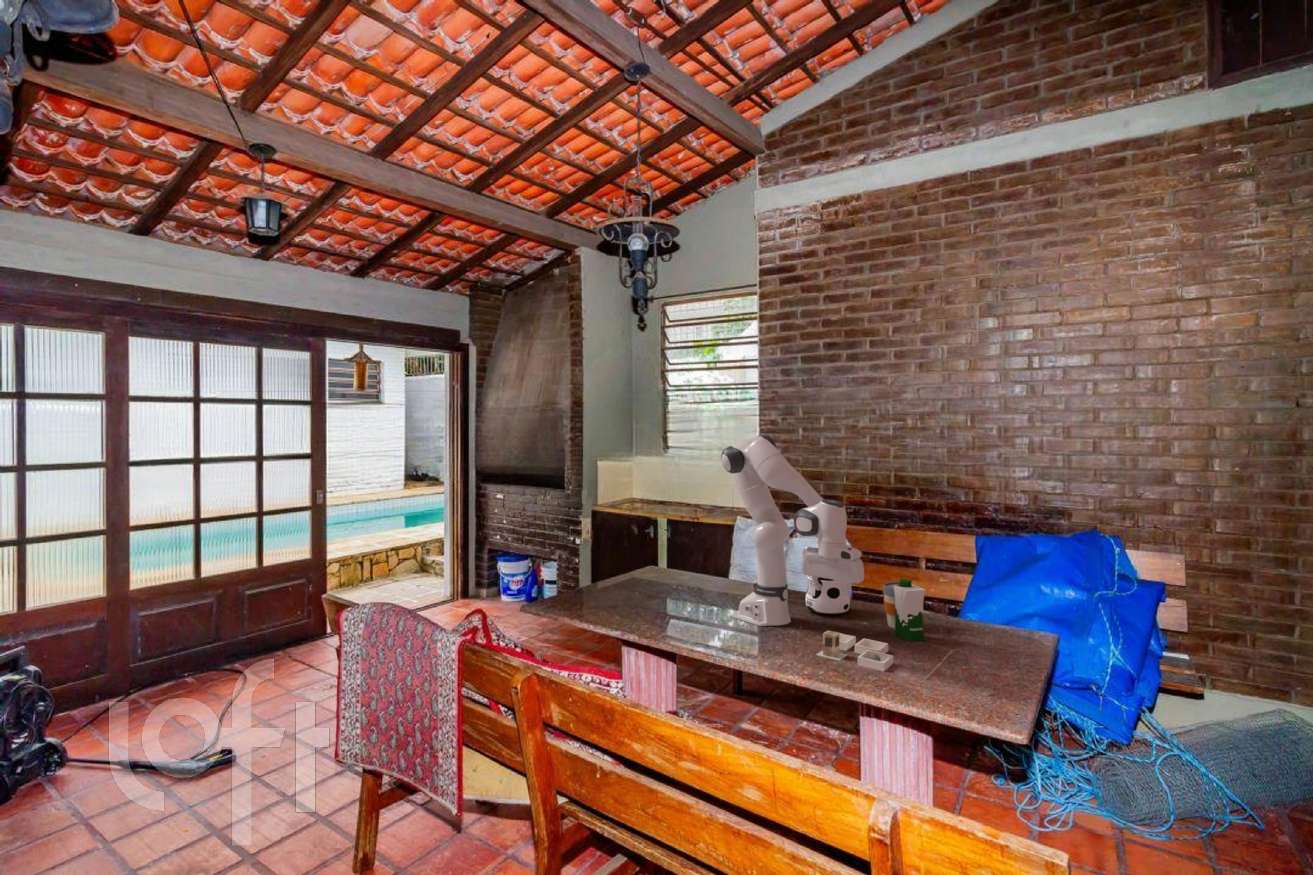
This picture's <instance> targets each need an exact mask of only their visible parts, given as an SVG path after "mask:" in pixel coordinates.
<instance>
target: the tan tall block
mask: <svg viewBox="0 0 1313 875" xmlns="http://www.w3.org/2000/svg"><path fill="white" fill-rule="evenodd" d="M840 633H841V632H838V631H832V630H826V631H824V632H823V633H822V650H823V655H825V656H829V657H833V658H835V657H836V656H838V655H839V654H840V650H841V649H840Z"/></svg>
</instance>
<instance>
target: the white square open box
mask: <svg viewBox="0 0 1313 875" xmlns="http://www.w3.org/2000/svg"><path fill="white" fill-rule="evenodd" d="M874 654H876V655H878V656H879V657H880V659H881V661H875V660H871V659H870V658H871V656H872V655H874ZM893 664H894V655H892V654H888V653H885V654H884V653H880V652H875V651H871V650H866V651H865V652H864V653H862V654H859V655H858V656H857V666H860V667H864V668H866V669H872V670H876V671H880V672H885V671H887V670H888V669H889V668H890V667H891V666H893Z"/></svg>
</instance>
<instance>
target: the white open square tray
mask: <svg viewBox="0 0 1313 875" xmlns="http://www.w3.org/2000/svg"><path fill="white" fill-rule="evenodd" d="M839 633H840V650H841V651H849V650H850V649H851V648H852V647H855V644H857V637H856V635H852V634H851V635H850V634H844V633H841V632H839Z"/></svg>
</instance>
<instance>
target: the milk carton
mask: <svg viewBox="0 0 1313 875" xmlns="http://www.w3.org/2000/svg"><path fill="white" fill-rule="evenodd" d="M898 582H899V585H896V586H893V587H894V593H895V628H894V636H895V637H896V638H899V639H903V640H906V642H911V641H915V642H918V641H919V642H920V641H925V630H924V629H925V628H924V598H925V595H926V589H925V588H923V587H920V586H918V585H916V584H913V583H912V580H911V579H907V578H900V579H899V580H898ZM912 584H913V585H912ZM915 585H916V586H915Z"/></svg>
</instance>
